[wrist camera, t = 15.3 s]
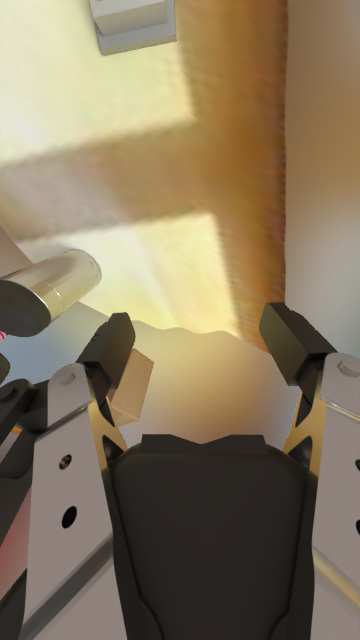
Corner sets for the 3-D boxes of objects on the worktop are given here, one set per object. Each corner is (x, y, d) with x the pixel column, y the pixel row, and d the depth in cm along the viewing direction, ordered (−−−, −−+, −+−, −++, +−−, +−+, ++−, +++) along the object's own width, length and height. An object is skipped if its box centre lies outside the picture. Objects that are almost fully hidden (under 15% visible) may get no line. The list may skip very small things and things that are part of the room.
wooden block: (117, 357, 60) (89, 414, 44) (134, 347, 55) (109, 406, 39) (137, 371, 64) (118, 427, 48) (154, 362, 59) (139, 421, 43)
